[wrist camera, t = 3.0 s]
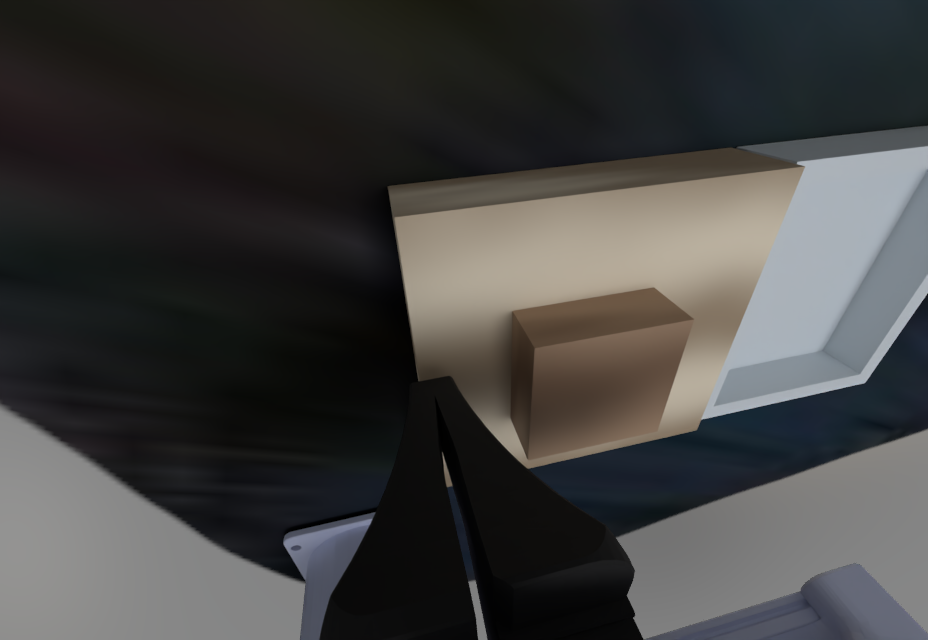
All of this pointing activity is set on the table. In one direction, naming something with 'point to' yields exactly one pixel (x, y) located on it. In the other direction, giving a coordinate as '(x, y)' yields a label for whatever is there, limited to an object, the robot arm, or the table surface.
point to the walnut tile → (594, 369)
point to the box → (833, 270)
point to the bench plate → (585, 264)
